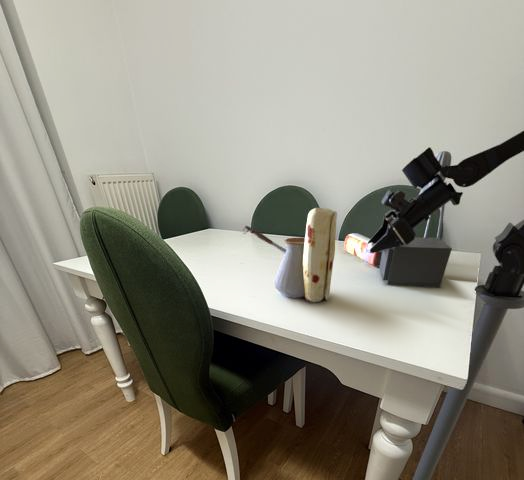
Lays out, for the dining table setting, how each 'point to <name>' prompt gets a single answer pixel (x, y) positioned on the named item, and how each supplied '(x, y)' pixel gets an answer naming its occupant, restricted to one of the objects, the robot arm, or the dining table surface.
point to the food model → (319, 253)
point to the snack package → (361, 249)
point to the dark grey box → (419, 263)
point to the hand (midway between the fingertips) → (369, 247)
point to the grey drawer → (384, 261)
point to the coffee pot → (288, 266)
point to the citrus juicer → (444, 160)
